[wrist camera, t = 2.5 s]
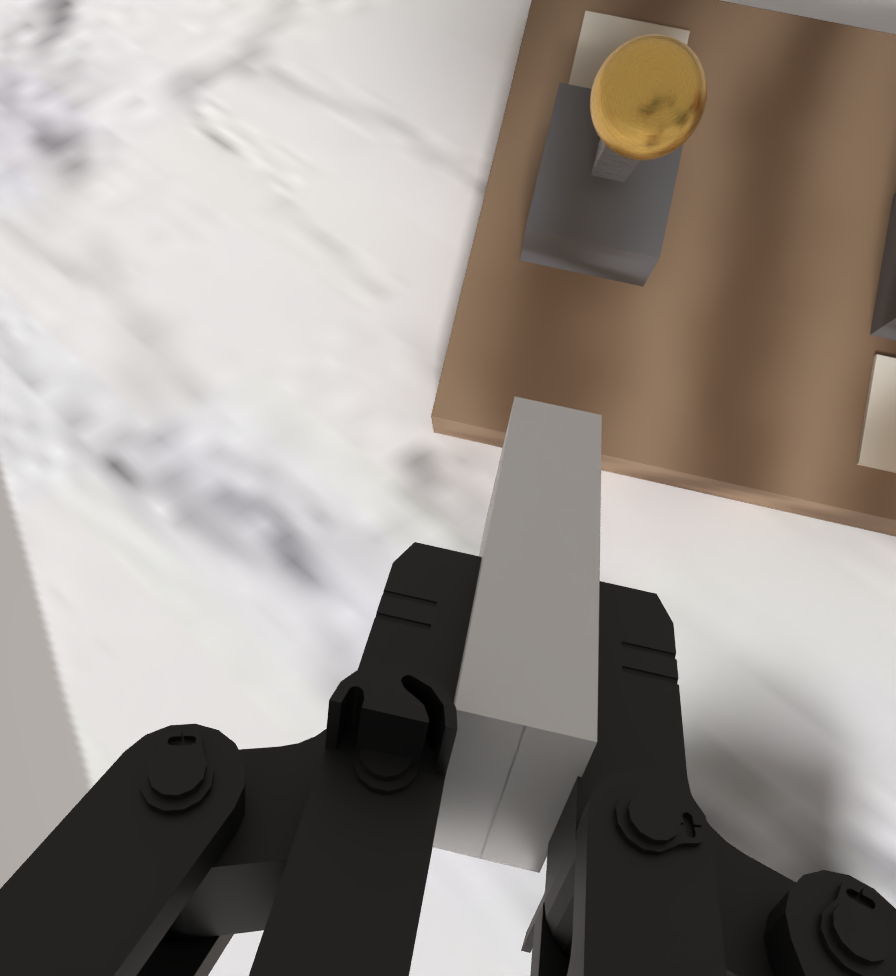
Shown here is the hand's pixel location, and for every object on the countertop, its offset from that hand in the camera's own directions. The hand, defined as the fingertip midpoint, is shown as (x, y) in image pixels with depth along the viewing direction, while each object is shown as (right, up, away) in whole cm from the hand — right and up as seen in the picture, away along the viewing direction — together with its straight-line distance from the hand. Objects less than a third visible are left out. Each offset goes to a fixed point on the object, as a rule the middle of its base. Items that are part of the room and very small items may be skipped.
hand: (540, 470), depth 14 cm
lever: (+4, +12, +15) cm, 19 cm away
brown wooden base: (+11, +9, +21) cm, 25 cm away
